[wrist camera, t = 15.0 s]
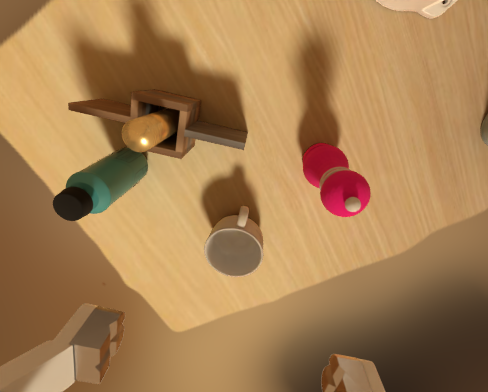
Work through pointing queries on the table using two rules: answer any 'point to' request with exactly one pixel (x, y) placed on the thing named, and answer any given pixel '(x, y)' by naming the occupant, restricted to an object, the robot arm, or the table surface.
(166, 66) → the table surface
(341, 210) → the pepper mill
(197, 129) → the brown winged open box
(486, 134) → the green oval vase
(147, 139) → the brass pin
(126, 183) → the beverage bottle
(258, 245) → the teacup
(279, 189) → the table surface
